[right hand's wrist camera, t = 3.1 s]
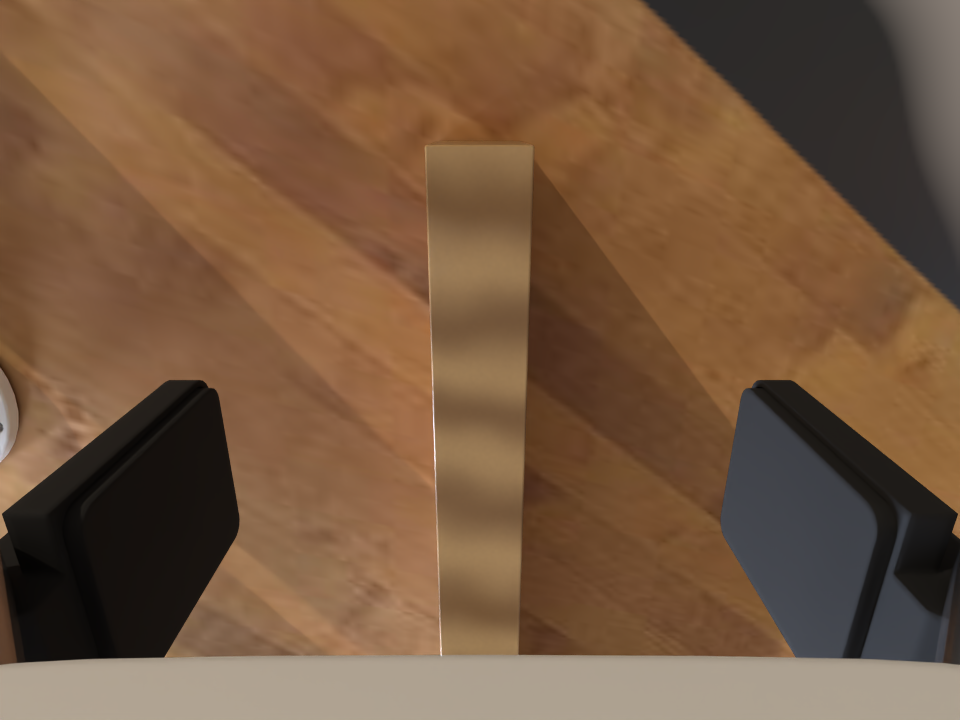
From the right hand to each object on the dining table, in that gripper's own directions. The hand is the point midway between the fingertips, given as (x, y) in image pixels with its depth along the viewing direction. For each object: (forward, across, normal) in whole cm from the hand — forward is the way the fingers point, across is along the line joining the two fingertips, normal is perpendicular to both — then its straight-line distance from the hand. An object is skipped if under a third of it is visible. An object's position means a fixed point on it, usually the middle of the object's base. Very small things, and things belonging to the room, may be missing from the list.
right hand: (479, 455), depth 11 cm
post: (+27, 0, -25) cm, 37 cm away
